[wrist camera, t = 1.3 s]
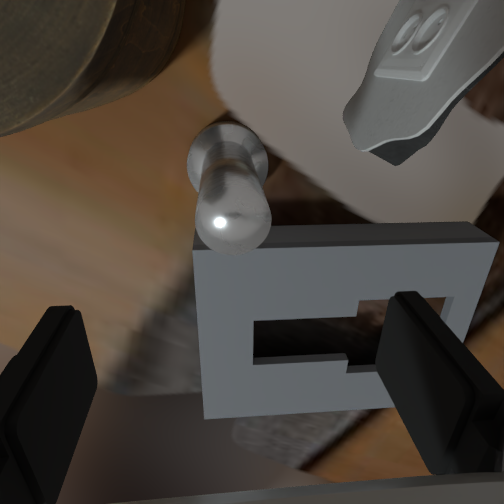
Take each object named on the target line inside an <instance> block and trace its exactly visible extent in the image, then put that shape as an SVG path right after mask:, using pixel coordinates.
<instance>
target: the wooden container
mask: <svg viewBox="0 0 504 504" xmlns="http://www.w3.org/2000/svg"><path fill="white" fill-rule="evenodd" d="M184 9H185V0H0V137H3V136H6V135H10V134H13V133H17V132H20V131H23V130H26V129H28V128H31V127H34V126H36V125H38V124H41V123H43V122H46V121H49V120H52V119H56V118H59V117H62V116H66V115H70V114H74V113H78V112H82V111H86V110H89V109H92V108H95V107H98V106H101V105H104V104H107V103H110V102H113V101H115V100H118V99H120V98H122V97H125V96H127V95H130V94H132V93H134V92H135V91H137V90H139V89H140V88H142V87H143V86H145V85H146V84H148V83H149V82H150V81H151V80H152V79H153V78H154V77H156V76H157V75H158V73H159V72H160V71H161V70H162V68H163V67H164V66H165V64H166V63H167V61H168V60H169V58H170V56H171V55H172V53H173V50H174V48H175V46H176V43H177V41H178V38H179V35H180V31H181V27H182V23H183V17H184Z"/></svg>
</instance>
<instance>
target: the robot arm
mask: <svg viewBox="0 0 504 504" xmlns="http://www.w3.org/2000/svg"><path fill="white" fill-rule="evenodd" d="M375 365H376V370H377V373H378V375H379V376H380V378H381V380H382V382H383V384H384V386H385V388H386V390H387V392H388V394H389V396H390V398H391V400H392V401H393V403H394V405H395V407H396V409H397V411H398V413H399V415H400V417H401V419H402V421H403V423H404V424H405V426H406V428H407V430H408V432H409V434H410V436H411V438H412V440H413V442H414V444H415V446H416V447H417V449H418V451H419V453H420V455H421V457H422V459H423V461H424V463H425V465H426V467H427V468H428V470H429V472H430V473H431V474H433V475H431V476H416V477H404V478H392V479H380V480H368V481H356V482H344V483H332V484H320V485H309V486H298V487H286V488H275V489H263V490H253V491H241V492H231V493H220V494H208V495H197V496H187V497H176V498H166V499H156V500H145V501H134V502H124V503H113V504H504V390H503V389H502V387H501V386H500V385H499V384H498V383H497V382H496V381H495V379H494V378H493V377H492V376H491V375H490V374H489V373H488V371H487V370H486V369H485V368H484V367H483V366H482V365H481V363H480V362H479V361H478V360H477V359H476V358H475V357H474V355H473V354H472V353H471V352H470V351H469V350H468V349H467V347H466V346H465V345H464V344H463V343H462V342H461V341H460V339H459V338H458V337H457V336H456V335H455V334H454V333H453V331H452V330H451V329H450V328H449V327H448V326H447V325H446V323H445V322H444V321H443V320H442V319H441V318H440V317H439V315H438V314H437V313H436V312H435V311H434V310H433V309H432V307H431V306H430V305H429V304H428V303H427V302H426V300H425V299H424V298H423V297H422V296H421V295H420V294H419V293H418V292H417V291H398V292H396V293H395V295H394V296H392V297H390V299H389V303H388V307H387V311H386V316H385V320H384V325H383V329H382V333H381V338H380V342H379V347H378V351H377V355H376V360H375ZM96 389H97V374H96V370H95V366H94V363H93V359H92V355H91V351H90V347H89V343H88V339H87V335H86V331H85V327H84V323H83V319H82V315H81V312H80V311H79V310H74V308H73V306H71V305H69V306H51V307H49V308H48V309H47V310H46V312H45V313H44V315H43V316H42V318H41V319H40V321H39V322H38V324H37V325H36V327H35V329H34V330H33V332H32V333H31V335H30V336H29V338H28V339H27V341H26V342H25V344H24V345H23V347H22V348H21V350H20V351H19V353H18V354H17V355H15V356H14V357H13V358H12V359H11V360H10V361H9V363H8V364H7V366H6V367H5V369H4V371H3V372H2V373H1V375H0V504H55V503H56V502H57V499H58V496H59V493H60V491H61V488H62V485H63V482H64V479H65V476H66V474H67V471H68V468H69V465H70V462H71V459H72V457H73V454H74V451H75V448H76V445H77V442H78V440H79V437H80V434H81V431H82V428H83V426H84V423H85V420H86V417H87V414H88V412H89V408H90V406H91V403H92V400H93V397H94V395H95V392H96ZM435 474H436V475H435Z"/></svg>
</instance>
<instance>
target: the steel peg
mask: <svg viewBox="0 0 504 504" xmlns="http://www.w3.org/2000/svg"><path fill="white" fill-rule="evenodd" d="M187 171H188V175H189V179H190V181H191V183H192V185H193V187H194V188H195V189H196V191H197V192H198V193H199V194H198V201H197V208H196V215H195V225H196V230H197V233H198V235H199V237H200V238H201V240H202V241H203V242H204V243H205V244H206V245H207V246H208V247H209V248H211V249H212V250H214V251H216V252H218V253H221V254H225V255H240V254H245V253H248V252H250V251H252V250H254V249H255V248H257V247H258V246H259V245H260V244H261V243H262V242H263V241H264V240H265V239H266V237H267V235H268V233H269V231H270V227H271V212H270V208H269V206H268V203H267V200H266V197H265V194H264V191H263V188H262V186H263V184H264V182H265V180H266V177H267V173H268V158H267V154H266V151H265V148H264V146H263V144H262V142H261V141H260V139H259V138H258V136H257V135H256V134H255V133H254V132H253V131H252V130H251V129H250V128H248V127H247V126H245V125H243V124H241V123H238V122H234V121H219V122H215V123H212V124H210V125H208V126H206V127H205V128H204V129H202V130H201V131H200V132H199V133H198V134H197V136H196V137H195V139H194V140H193V142H192V145H191V147H190V151H189V154H188V159H187Z"/></svg>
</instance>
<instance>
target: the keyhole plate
mask: <svg viewBox="0 0 504 504" xmlns="http://www.w3.org/2000/svg"><path fill="white" fill-rule="evenodd" d="M498 245H499V241H497V240H496V239H494V238H493V237H491V236H489V235H488V234H486V233H485V232H483V231H482V230H480V229H479V228H477V227H476V226H474V225H472V224H471V223H469V222H427V223H379V224H333V225H288V226H271V227H270V231H269V233H268V235H267V237H266V239H265V240H264V241H263V242H262V243H261V244H260V245H259V246H258V247H257V248H255V249H254V250H252V251H250V252H248V253H245V254H240V255H225V254H221V253H218V252H216V251H214V250H212V249H211V248H209V247H208V246H207V245H206V244H205V243H204V242H203V241H202V240H201V238H200V237H199V235H198V233H197V230H196V228H195V235H194V243H193V264H194V278H195V293H196V307H197V321H198V335H199V349H200V364H201V378H202V392H203V405H204V419H215V418H230V417H247V416H263V415H279V414H294V413H310V412H326V411H341V410H357V409H373V408H388V407H395V405H394V403H393V401H392V400H391V398H390V396H389V394H388V392H387V390H386V388H385V386H384V384H383V382H382V380H381V378H380V376H379V375H378V373H377V370H376V365H356V366H347V365H348V358H347V356H346V354H345V353H337V354H317V355H297V356H278V357H258V358H253V326H254V321H260V320H283V319H306V318H330V317H353V316H356V315H357V309H358V304H359V300H379V299H390V297H392V296H394V295H395V293H396V292H398V291H417V292H418V293H419V294H420V295H421V296H422V297H423V298H430V297H446V300H445V303H444V306H443V309H442V312H441V316H440V318H441V319H442V320H443V321H444V322H445V323H446V325H447V326H448V327H449V328H450V329H451V330H452V331H453V333H454V334H455V335H456V336H457V337H458V338H459V339H460V341H461V342H462V343H463V341H464V339H465V336H466V333H467V330H468V328H469V325H470V322H471V319H472V317H473V314H474V311H475V308H476V306H477V303H478V300H479V297H480V295H481V292H482V289H483V286H484V284H485V281H486V278H487V275H488V273H489V270H490V267H491V264H492V262H493V259H494V256H495V253H496V251H497V248H498Z"/></svg>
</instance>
